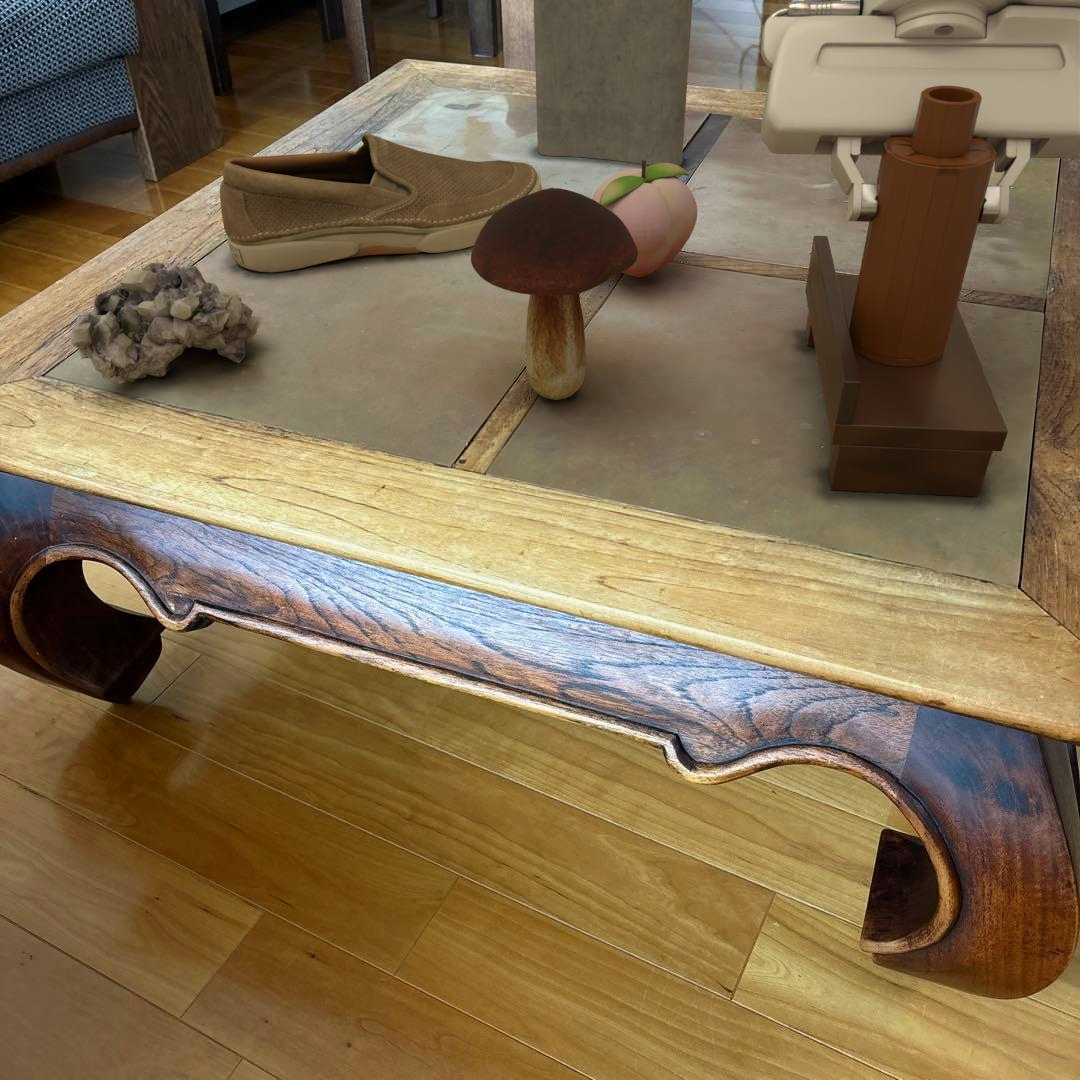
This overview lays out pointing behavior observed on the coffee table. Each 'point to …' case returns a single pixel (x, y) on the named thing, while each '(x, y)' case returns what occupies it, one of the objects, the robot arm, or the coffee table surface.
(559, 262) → the decorative mushroom
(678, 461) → the coffee table surface
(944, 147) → the bottle
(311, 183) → the slip on shoe
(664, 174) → the decorative fruit
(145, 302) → the mineral specimen
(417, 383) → the coffee table surface
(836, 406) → the walnut bench
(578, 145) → the grey upright slab
